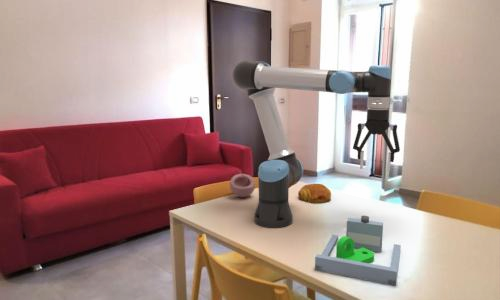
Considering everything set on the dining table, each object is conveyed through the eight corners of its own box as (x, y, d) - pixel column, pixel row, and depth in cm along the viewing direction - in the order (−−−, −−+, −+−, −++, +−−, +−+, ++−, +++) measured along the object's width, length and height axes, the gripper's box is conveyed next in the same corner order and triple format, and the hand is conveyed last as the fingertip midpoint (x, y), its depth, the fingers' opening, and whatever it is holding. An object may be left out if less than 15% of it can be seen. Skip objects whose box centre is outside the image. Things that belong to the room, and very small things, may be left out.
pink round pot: (232, 201, 172) (231, 177, 170) (228, 194, 183) (227, 171, 181) (257, 199, 174) (257, 175, 172) (252, 192, 186) (251, 170, 184)
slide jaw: (345, 246, 123) (347, 216, 121) (347, 243, 126) (348, 213, 124) (381, 252, 119) (382, 220, 117) (381, 248, 121) (383, 217, 119)
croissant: (296, 199, 181) (294, 183, 180) (327, 193, 182) (325, 178, 181) (304, 208, 167) (301, 191, 165) (337, 202, 168) (335, 185, 167)
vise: (314, 269, 108) (315, 256, 108) (332, 238, 130) (332, 227, 129) (395, 285, 99) (396, 271, 99) (400, 249, 121) (401, 237, 120)
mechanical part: (351, 271, 108) (352, 245, 106) (336, 263, 112) (336, 238, 111) (378, 260, 114) (379, 235, 113) (362, 253, 119) (363, 229, 118)
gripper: (345, 109, 137) (343, 168, 141) (410, 110, 128) (405, 174, 132) (349, 107, 143) (347, 164, 147) (410, 108, 134) (406, 169, 138)
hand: (374, 169), depth 139 cm, fingers open, 9 cm apart
